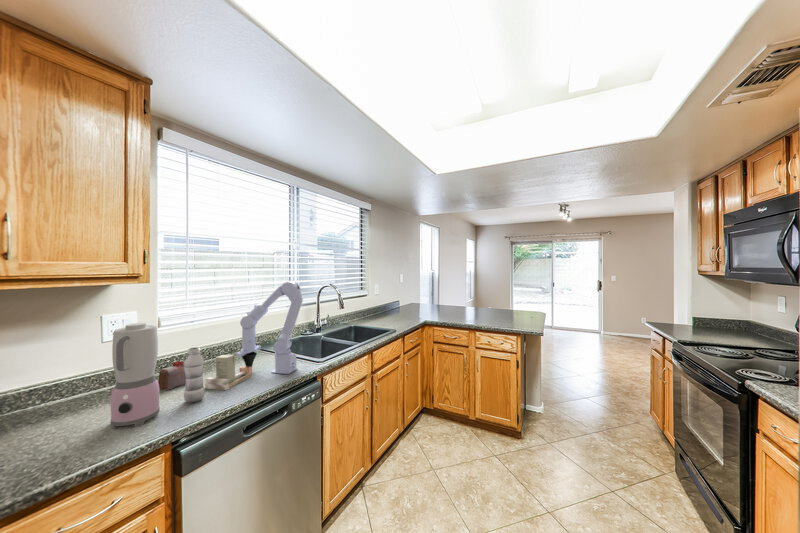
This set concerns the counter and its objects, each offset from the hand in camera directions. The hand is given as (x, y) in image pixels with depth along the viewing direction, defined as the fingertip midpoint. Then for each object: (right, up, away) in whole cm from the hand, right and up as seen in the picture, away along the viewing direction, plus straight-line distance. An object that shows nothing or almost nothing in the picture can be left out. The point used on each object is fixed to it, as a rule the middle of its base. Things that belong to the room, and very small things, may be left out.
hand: (249, 368), depth 143 cm
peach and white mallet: (-1, -2, -7) cm, 7 cm away
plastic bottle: (-5, -2, -30) cm, 31 cm away
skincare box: (-3, -2, -14) cm, 15 cm away
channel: (-2, -2, -11) cm, 12 cm away
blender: (-15, -2, -46) cm, 48 cm away
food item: (-24, -2, -14) cm, 27 cm away
